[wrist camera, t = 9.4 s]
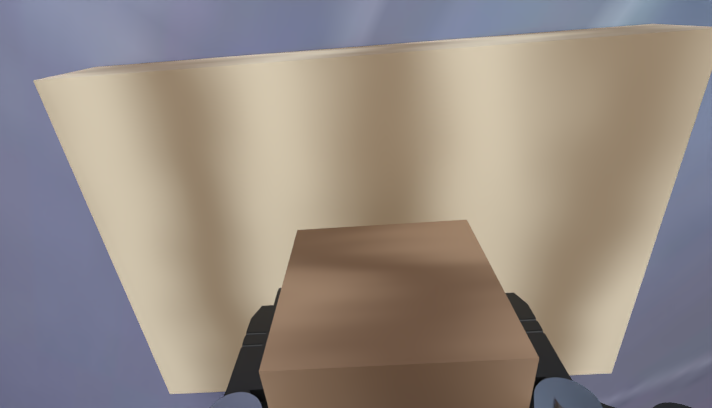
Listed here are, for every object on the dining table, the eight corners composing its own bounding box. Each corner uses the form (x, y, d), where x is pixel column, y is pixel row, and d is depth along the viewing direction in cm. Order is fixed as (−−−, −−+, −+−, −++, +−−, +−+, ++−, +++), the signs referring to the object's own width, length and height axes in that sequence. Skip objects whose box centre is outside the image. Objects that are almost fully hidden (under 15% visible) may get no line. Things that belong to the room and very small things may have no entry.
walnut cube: (317, 350, 14) (297, 516, 9) (297, 229, 11) (258, 371, 7) (458, 343, 13) (508, 509, 9) (466, 219, 11) (539, 357, 7)
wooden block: (194, 343, 20) (169, 394, 18) (94, 67, 14) (33, 80, 11) (576, 323, 20) (611, 373, 17) (652, 24, 13) (725, 27, 11)
